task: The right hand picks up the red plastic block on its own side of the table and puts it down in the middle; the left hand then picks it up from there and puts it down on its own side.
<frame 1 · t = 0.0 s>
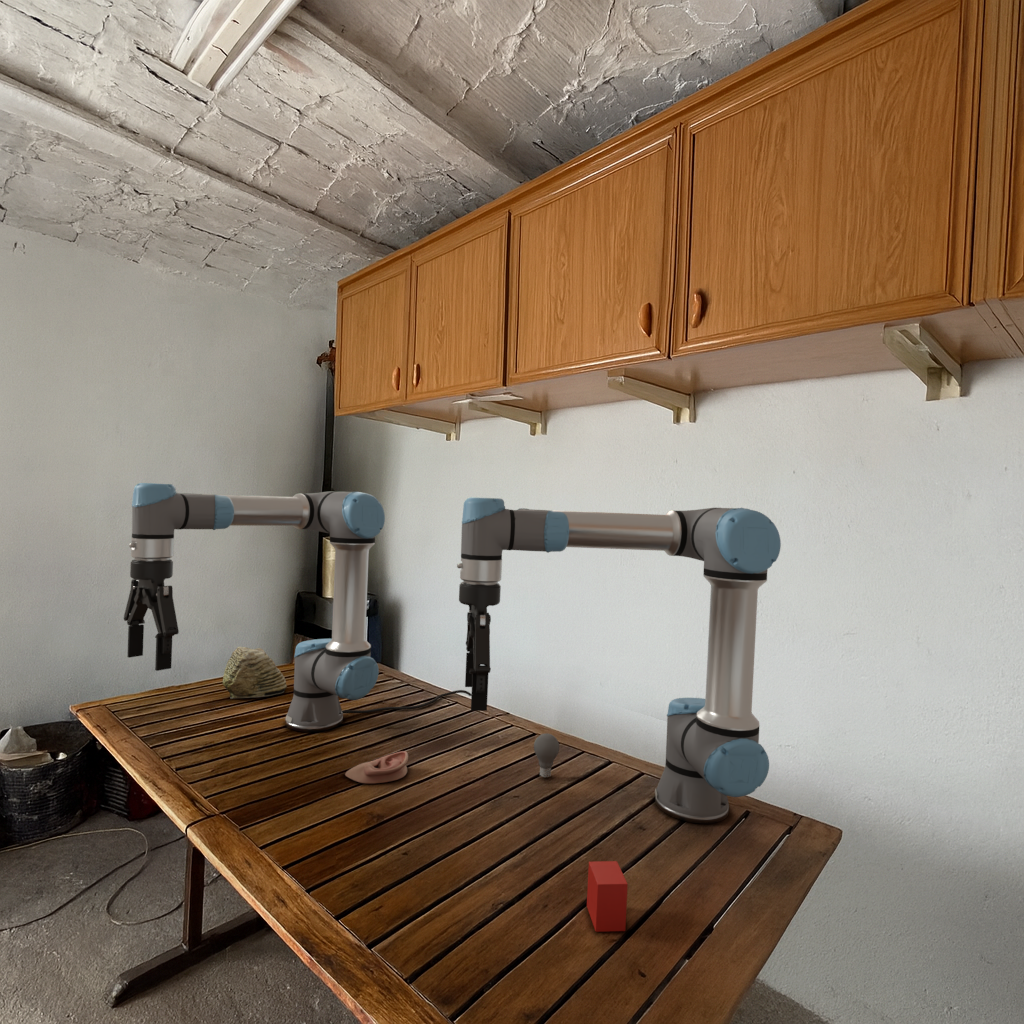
left hand: (148, 662, 129), 28 cm above the table, tool pointing down, fingers open, 13 cm apart
right hand: (475, 697, 116), 28 cm above the table, tool pointing down, fingers open, 13 cm apart
fossil: (254, 694, 198), on the table
light bulb: (545, 777, 148), on the table
block: (605, 918, 99), on the table
anatomical model: (377, 774, 146), on the table
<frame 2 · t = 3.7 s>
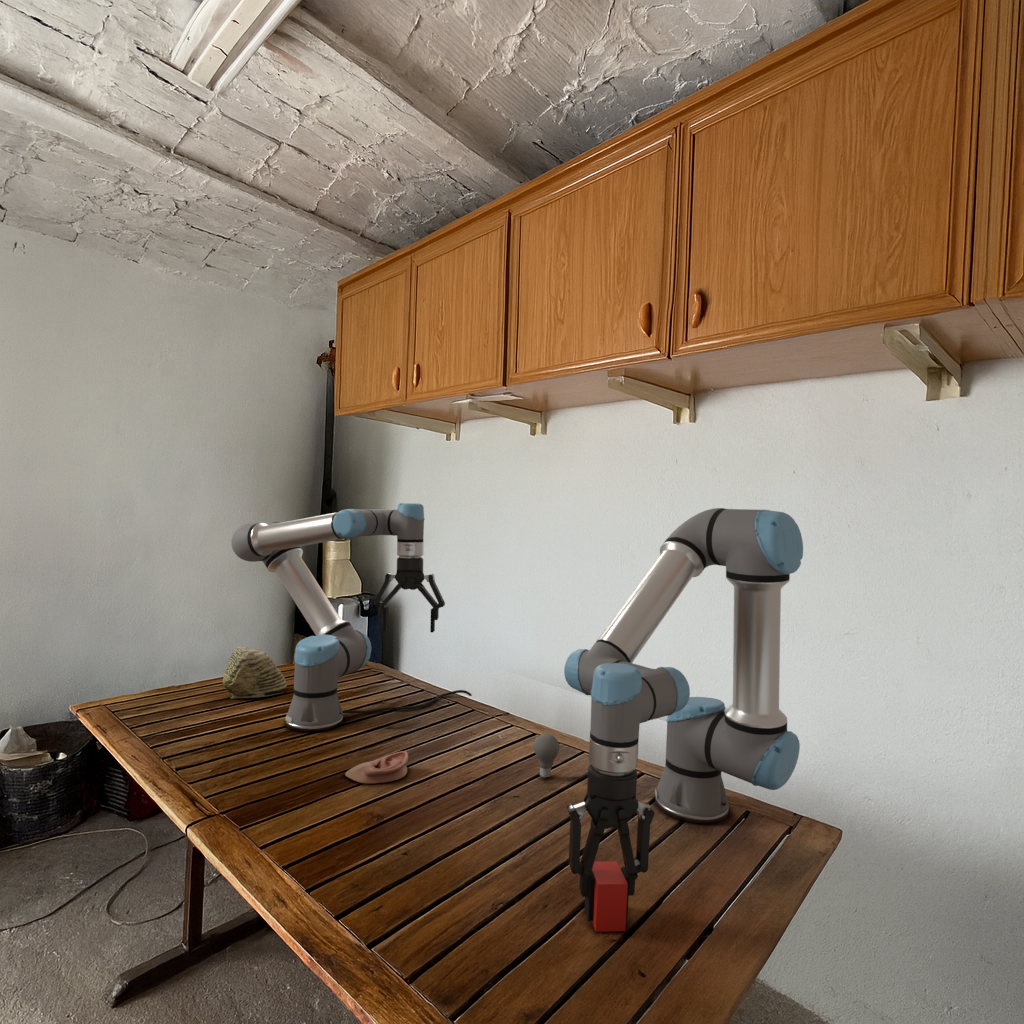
left hand: (409, 630, 181), 26 cm above the table, tool pointing down, fingers open, 13 cm apart
right hand: (605, 914, 99), 1 cm above the table, tool pointing down, fingers closed on block, 5 cm apart
block: (605, 918, 99), on the table, touching right hand
everything else where it was.
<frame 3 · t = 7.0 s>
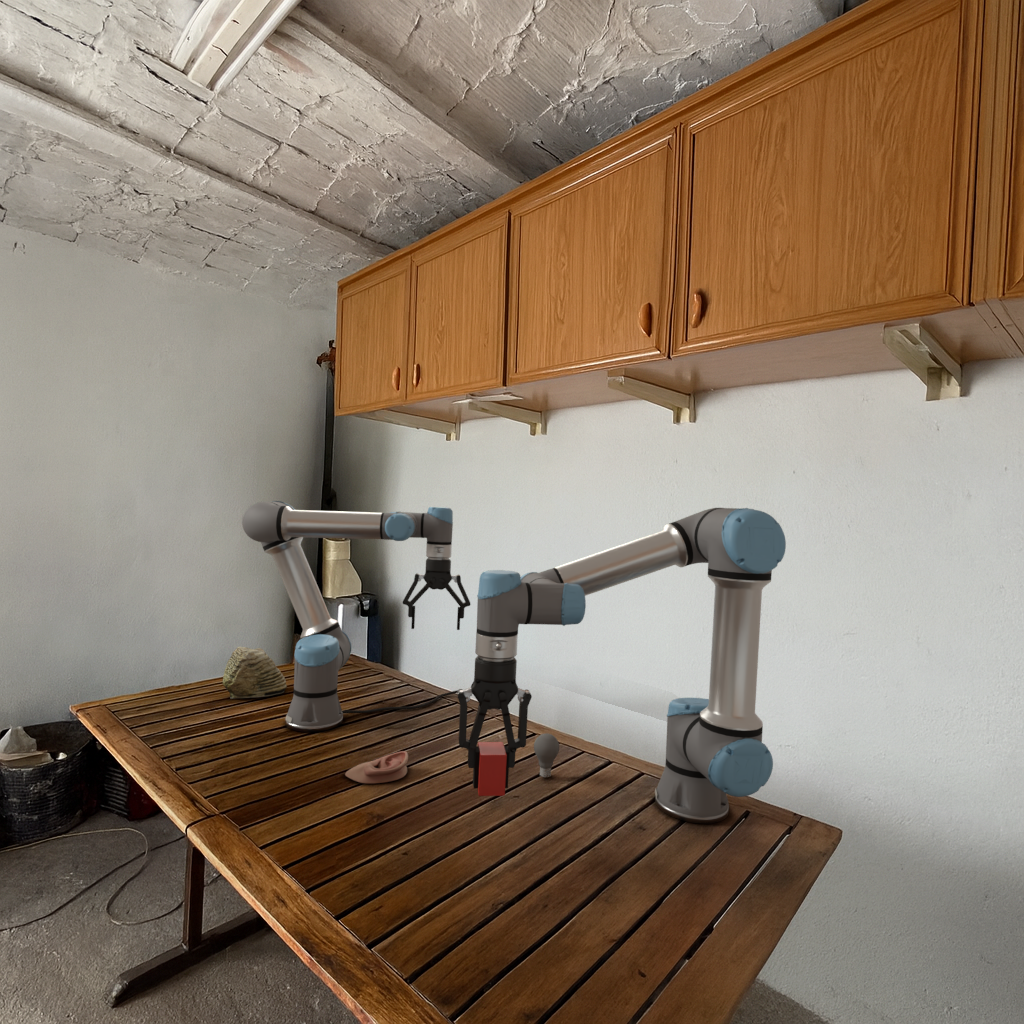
left hand: (435, 628, 191), 25 cm above the table, tool pointing down, fingers open, 13 cm apart
right hand: (490, 784, 114), 13 cm above the table, tool pointing down, fingers closed on block, 5 cm apart
block: (490, 788, 114), point 12 cm above the table, touching right hand
everything else where it was.
when the right hand's fingers open (2 cm above the table, at t = 10.6 s): block drops 1 cm, on the table.
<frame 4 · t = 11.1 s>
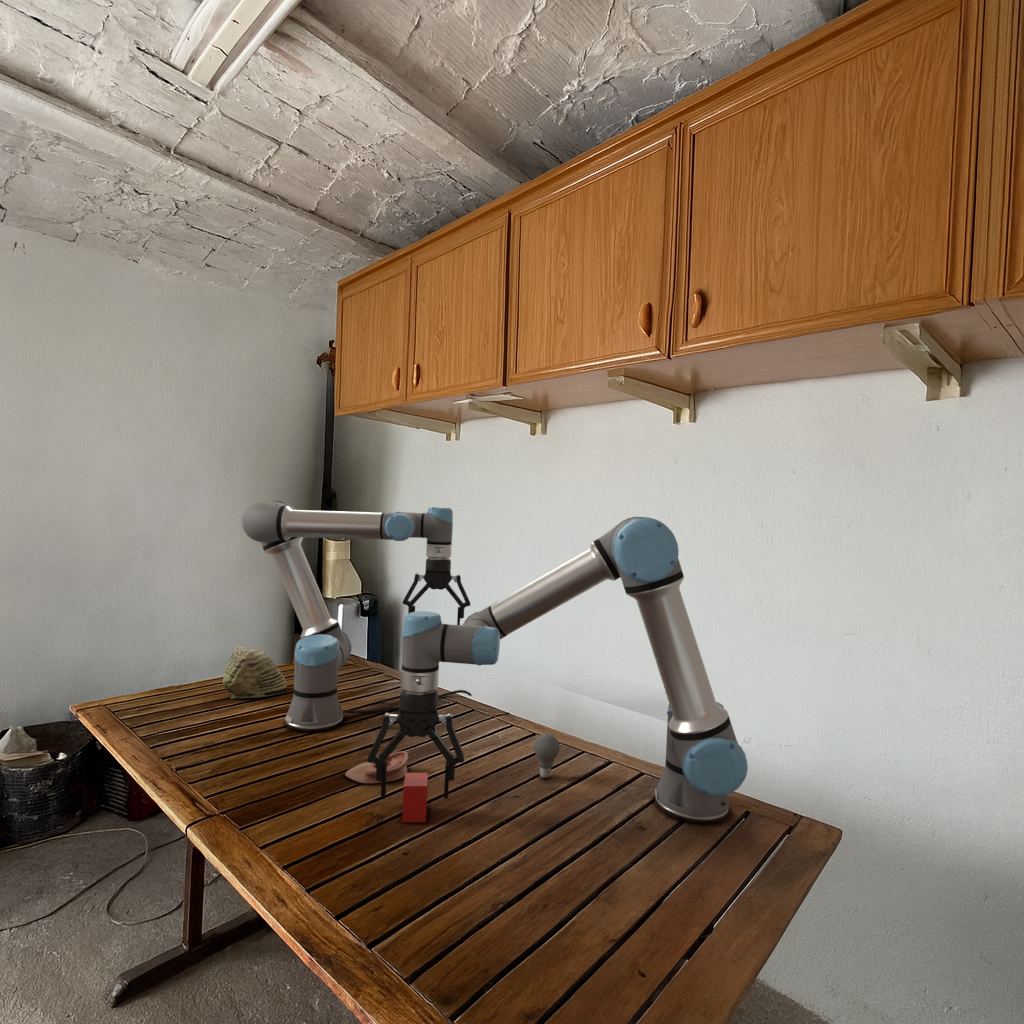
left hand: (435, 628, 191), 25 cm above the table, tool pointing down, fingers open, 13 cm apart
right hand: (414, 796, 128), 4 cm above the table, tool pointing down, fingers open, 12 cm apart
block: (414, 814, 128), on the table
everything else where it was.
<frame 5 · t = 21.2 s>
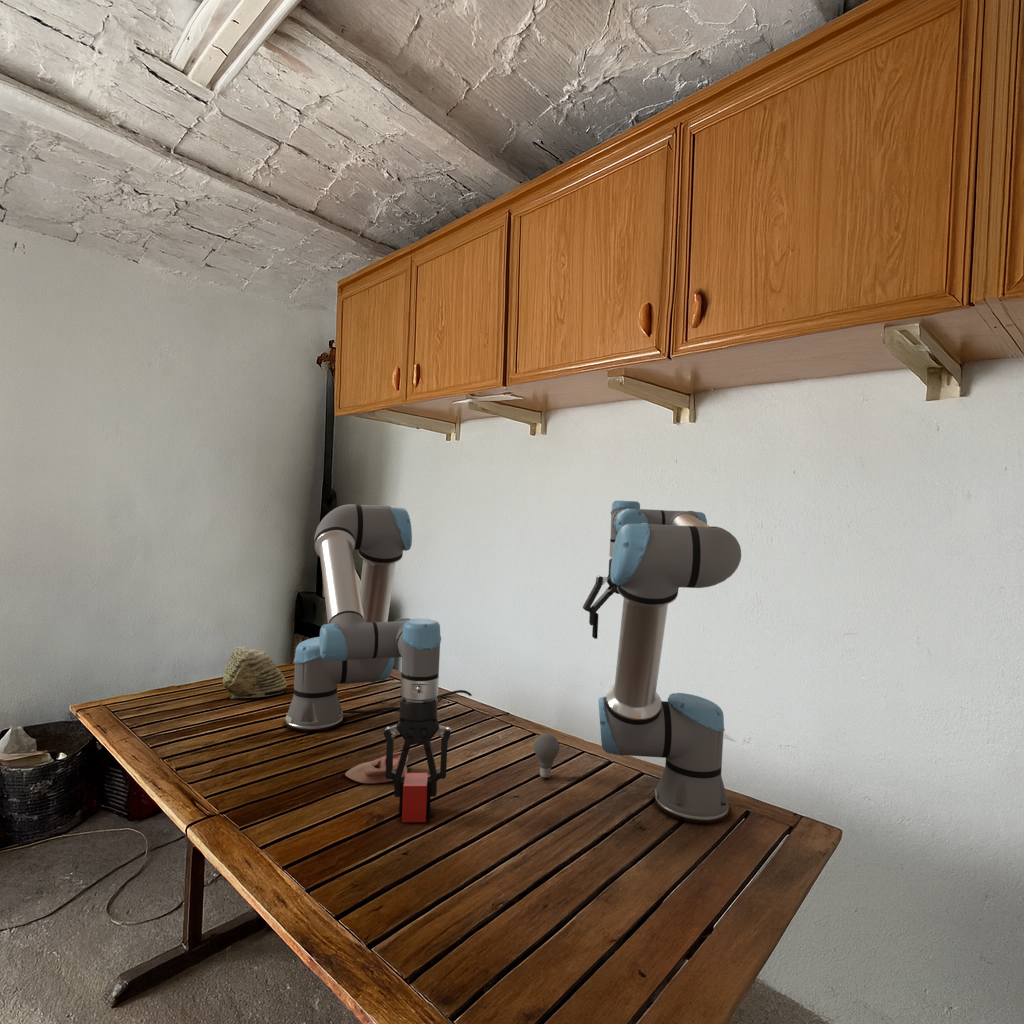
left hand: (414, 811, 128), 1 cm above the table, tool pointing down, fingers closed on block, 5 cm apart
right hand: (619, 638, 169), 29 cm above the table, tool pointing down, fingers open, 13 cm apart
block: (414, 814, 128), on the table, touching left hand
everything else where it was.
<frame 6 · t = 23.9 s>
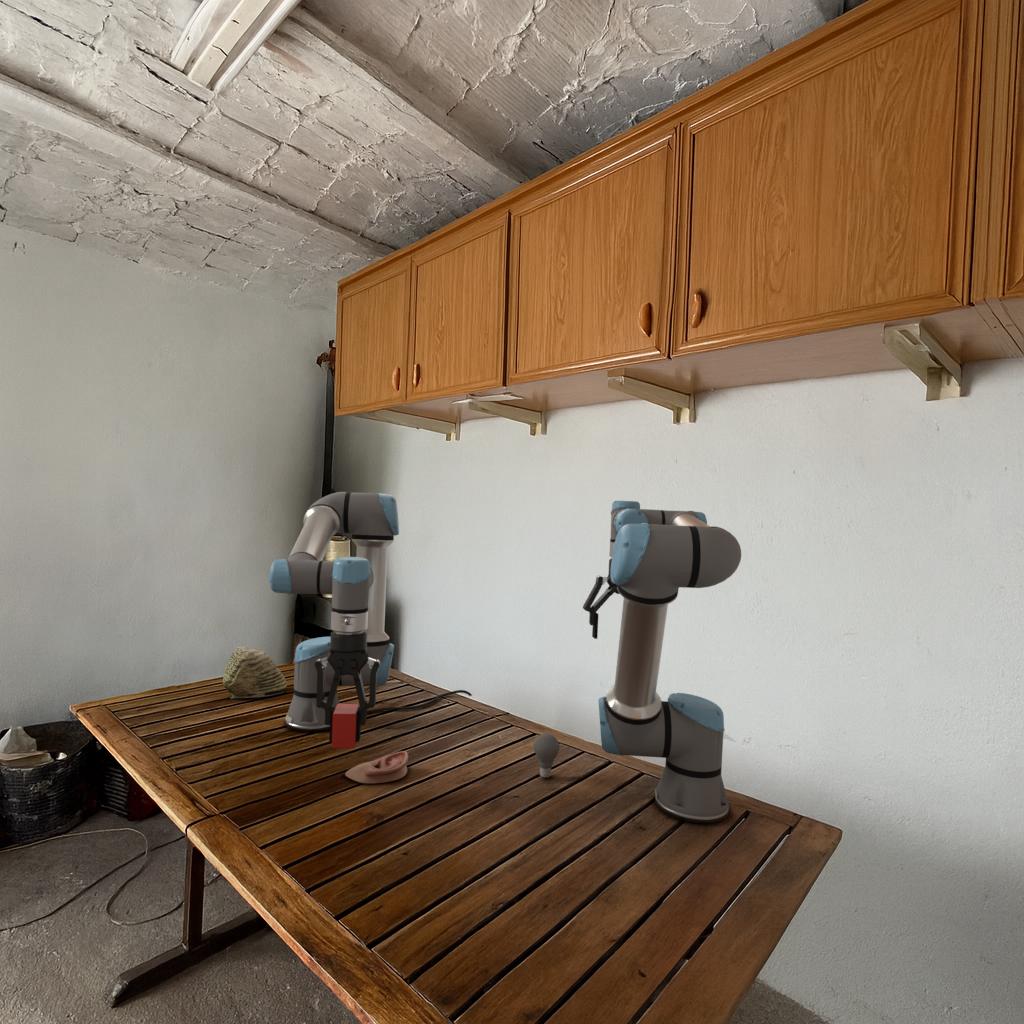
left hand: (345, 739, 135), 12 cm above the table, tool pointing down, fingers closed on block, 5 cm apart
right hand: (619, 638, 169), 29 cm above the table, tool pointing down, fingers open, 13 cm apart
block: (345, 742, 135), point 11 cm above the table, touching left hand
everything else where it was.
when the left hand's fingers open (2 cm above the table, at t = 26.9 s): block drops 2 cm, on the table.
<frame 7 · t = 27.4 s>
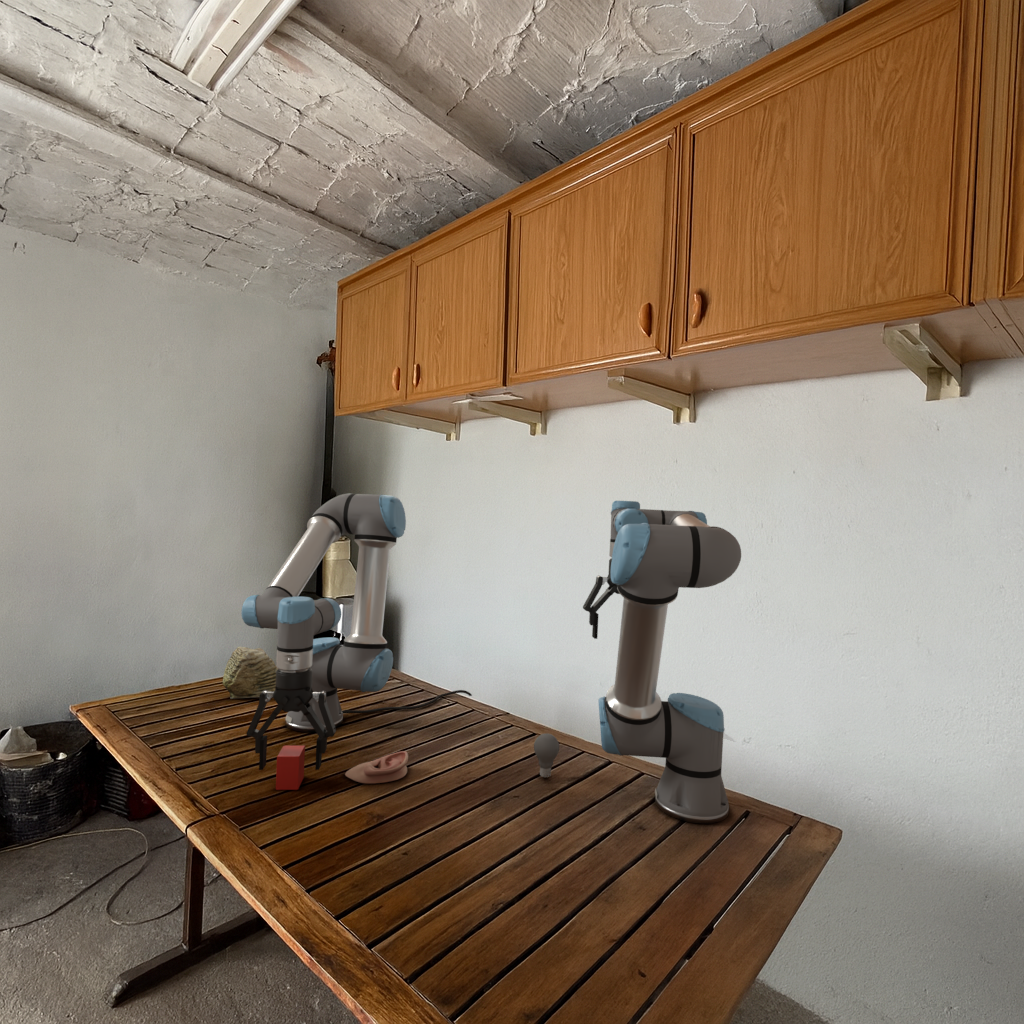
left hand: (290, 767, 139), 4 cm above the table, tool pointing down, fingers open, 11 cm apart
right hand: (619, 638, 169), 29 cm above the table, tool pointing down, fingers open, 13 cm apart
block: (290, 783, 139), on the table
everything else where it was.
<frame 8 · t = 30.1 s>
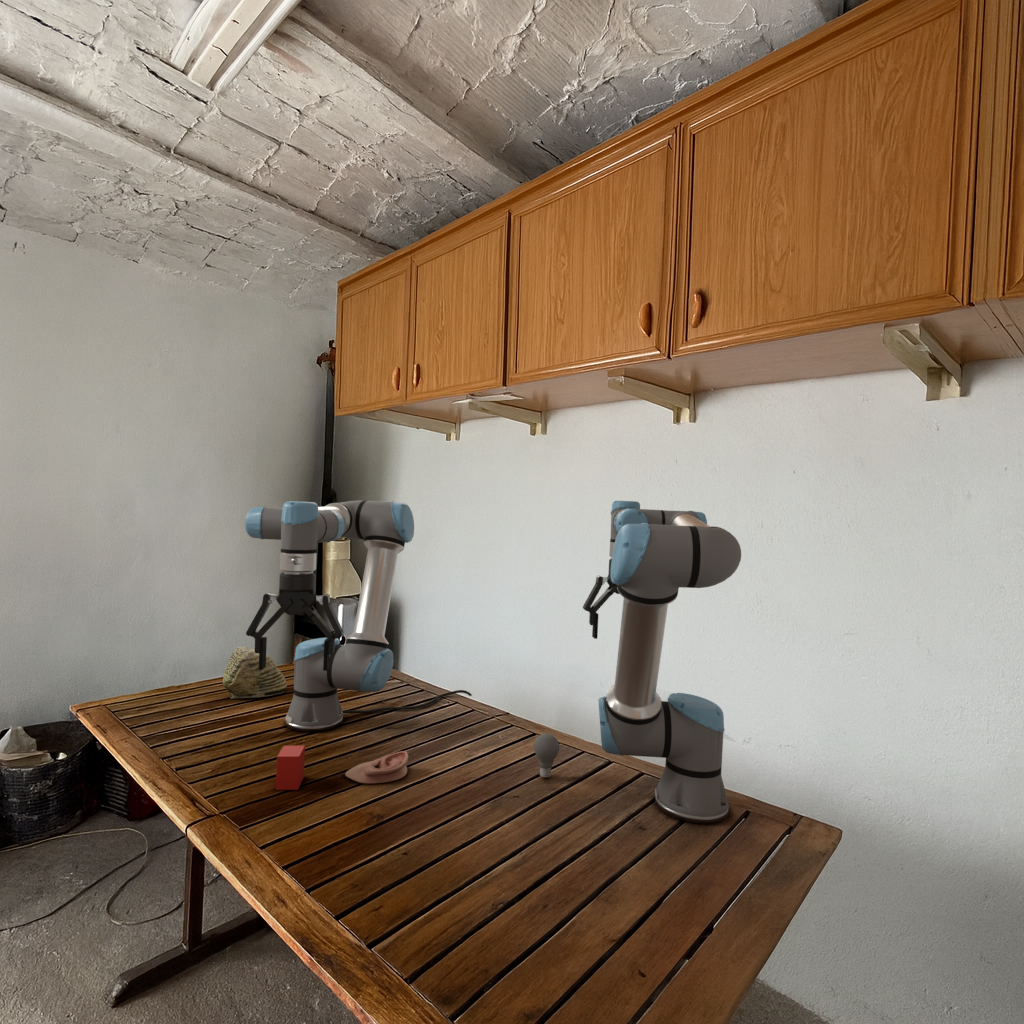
left hand: (294, 668, 139), 25 cm above the table, tool pointing down, fingers open, 13 cm apart
right hand: (619, 638, 169), 29 cm above the table, tool pointing down, fingers open, 13 cm apart
nothing on the table moved.
at the end: block inside the target area (0.0 cm from its centre), on the table; block tilted 0°; the two hands never held the block at the same time; the left hand is holding nothing; the right hand is holding nothing; block at rest at the end (0.0 cm/s) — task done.
